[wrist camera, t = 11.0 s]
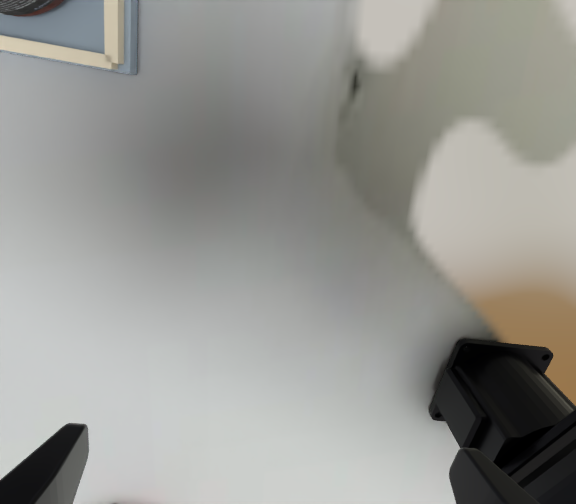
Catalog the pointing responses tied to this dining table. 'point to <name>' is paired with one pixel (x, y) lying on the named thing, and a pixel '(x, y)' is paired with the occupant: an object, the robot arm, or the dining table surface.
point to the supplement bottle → (27, 7)
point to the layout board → (77, 34)
